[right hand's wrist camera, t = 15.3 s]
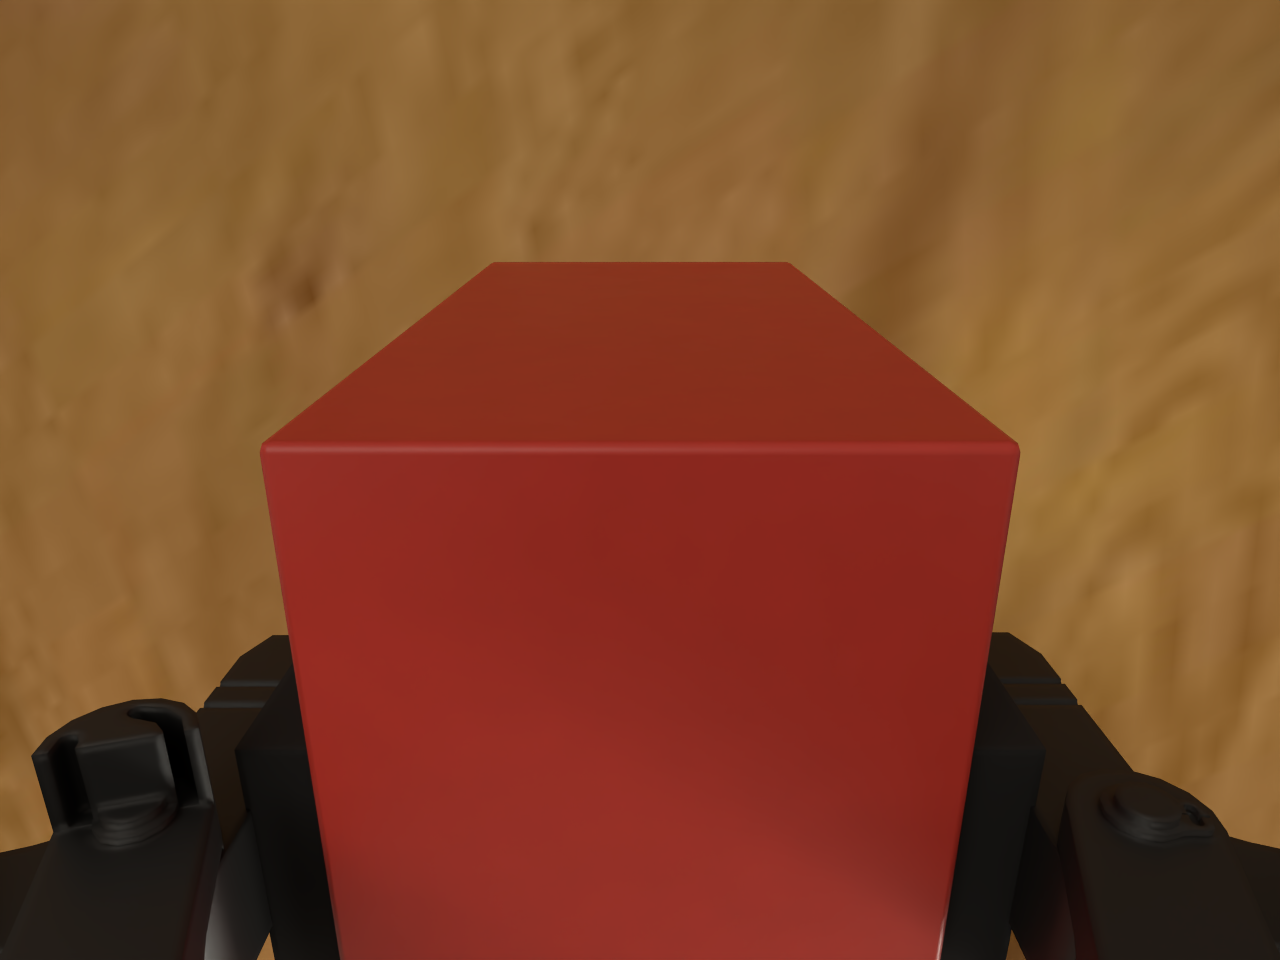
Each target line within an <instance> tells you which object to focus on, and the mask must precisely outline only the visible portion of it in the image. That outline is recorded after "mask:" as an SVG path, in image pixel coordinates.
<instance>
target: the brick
mask: <svg viewBox="0 0 1280 960" xmlns="http://www.w3.org/2000/svg"><path fill="white" fill-rule="evenodd" d="M260 457H261V463H262V470H263V476H264V482H265V489H266V495H267V501H268V508H269V514H270V520H271V526H272V533H273V539H274V545H275V552H276V558H277V564H278V571H279V577H280V583H281V590H282V596H283V602H284V608H285V615H286V621H287V627H288V634H289V640H290V646H291V653H292V659H293V665H294V671H295V678H296V684H297V690H298V697H299V703H300V709H301V716H302V722H303V728H304V734H305V741H306V747H307V753H308V760H309V766H310V772H311V779H312V785H313V791H314V797H315V804H316V810H317V816H318V823H319V829H320V835H321V842H322V848H323V854H324V861H325V867H326V873H327V879H328V886H329V892H330V898H331V905H332V911H333V917H334V924H335V930H336V936H337V942H338V949H339V955H340V960H940V958H941V952H942V945H943V939H944V933H945V926H946V920H947V914H948V908H949V901H950V895H951V889H952V882H953V876H954V870H955V863H956V857H957V851H958V844H959V838H960V832H961V825H962V819H963V813H964V806H965V800H966V794H967V787H968V781H969V775H970V768H971V762H972V756H973V749H974V743H975V737H976V730H977V724H978V718H979V711H980V705H981V699H982V692H983V686H984V680H985V673H986V667H987V661H988V655H989V648H990V642H991V636H992V629H993V623H994V617H995V610H996V604H997V598H998V591H999V585H1000V579H1001V572H1002V566H1003V560H1004V553H1005V547H1006V541H1007V534H1008V528H1009V522H1010V515H1011V509H1012V503H1013V496H1014V490H1015V484H1016V477H1017V471H1018V465H1019V458H1020V449H1019V446H1018V443H1017V442H1015V441H1014V440H1013V439H1012V438H1010V437H1009V436H1008V435H1006V434H1005V433H1004V432H1003V431H1001V430H1000V429H999V428H998V427H996V426H995V425H994V424H993V423H991V422H990V421H989V420H987V419H986V418H985V417H984V416H982V415H981V414H980V413H979V412H977V411H976V410H975V409H974V408H972V407H971V406H970V405H969V404H967V403H966V402H965V401H963V400H962V399H961V398H960V397H958V396H957V395H956V394H955V393H953V392H952V391H951V390H950V389H948V388H947V387H946V386H944V385H943V384H942V383H941V382H939V381H938V380H937V379H936V378H934V377H933V376H932V375H931V374H929V373H928V372H927V371H926V370H924V369H923V368H922V367H920V366H919V365H918V364H917V363H915V362H914V361H913V360H912V359H910V358H909V357H908V356H907V355H905V354H904V353H903V352H902V351H900V350H899V349H898V348H896V347H895V346H894V345H893V344H891V343H890V342H889V341H888V340H886V339H885V338H884V337H883V336H881V335H880V334H879V333H877V332H876V331H875V330H874V329H872V328H871V327H870V326H869V325H867V324H866V323H865V322H864V321H862V320H861V319H860V318H859V317H857V316H856V315H855V314H853V313H852V312H851V311H850V310H848V309H847V308H846V307H845V306H843V305H842V304H841V303H840V302H838V301H837V300H836V299H834V298H833V297H832V296H831V295H829V294H828V293H827V292H826V291H824V290H823V289H822V288H821V287H819V286H818V285H817V284H816V283H814V282H813V281H812V280H810V279H809V278H808V277H807V276H805V275H804V274H803V273H802V272H800V271H799V270H798V269H797V268H795V267H794V266H793V265H792V264H790V263H788V262H494V263H492V264H490V265H489V266H488V267H486V268H485V269H484V270H482V271H481V272H480V273H479V274H477V275H476V276H475V277H474V278H472V279H471V280H470V281H468V282H467V283H466V284H465V285H463V286H462V287H461V288H460V289H458V290H457V291H456V292H454V293H453V294H452V295H451V296H449V297H448V298H447V299H446V300H444V301H443V302H442V303H440V304H439V305H438V306H437V307H435V308H434V309H433V310H432V311H430V312H429V313H428V314H426V315H425V316H424V317H423V318H421V319H420V320H419V321H418V322H416V323H415V324H414V325H412V326H411V327H410V328H409V329H407V330H406V331H405V332H404V333H402V334H401V335H400V336H398V337H397V338H396V339H395V340H393V341H392V342H391V343H390V344H388V345H387V346H386V347H384V348H383V349H382V350H381V351H379V352H378V353H377V354H376V355H374V356H373V357H372V358H370V359H369V360H368V361H367V362H365V363H364V364H363V365H362V366H360V367H359V368H358V369H356V370H355V371H354V372H353V373H351V374H350V375H349V376H348V377H346V378H345V379H344V380H342V381H341V382H340V383H339V384H337V385H336V386H335V387H334V388H332V389H331V390H330V391H328V392H327V393H326V394H325V395H323V396H322V397H321V398H320V399H318V400H317V401H316V402H314V403H313V404H312V405H311V406H309V407H308V408H307V409H306V410H304V411H303V412H302V413H300V414H299V415H298V416H297V417H295V418H294V419H293V420H292V421H290V422H289V423H288V424H286V425H285V426H284V427H283V428H281V429H280V430H279V431H278V432H276V433H275V434H274V435H272V436H271V437H270V438H269V439H267V440H266V441H265V442H264V443H262V446H261V450H260Z"/></svg>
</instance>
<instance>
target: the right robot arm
mask: <svg viewBox="0 0 1280 960" xmlns="http://www.w3.org/2000/svg"><path fill="white" fill-rule="evenodd" d="M220 683H221V684H220V687H216V688H215V690H214V691H213V692H212V693H211V695H210V696H209V697H208V698H207V700H206V701H205V702H204V708H200V709H199V710H198V711H197V713H196V712H195V711H193V710H192V709H191V708H190V707H188V706H187V705H186V704H184V703H182V702H177V701H172V700H167V699H162V698H159V699H141V700H131V701H127V702H123V703H119V704H114V705H110V706H106V707H102V708H100V709H97V710H95V711H93V712H90V713H88V714H86V715H83V716H81V717H79V718H76V719H74V720H72V721H70V722H69V723H67V724H66V725H64V726H63V727H61V728H60V729H58V730H57V731H55V732H54V733H52V734H51V735H49V736H48V737H47V738H46V739H45V740H44V741H43V742H42V744H41V745H40V746H39V747H38V748H37V750H36V751H35V752H34V753H33V754H32V755H31V757H32V760H33V764H34V767H35V771H36V774H37V777H38V781H39V784H40V788H41V791H42V795H43V798H44V801H45V805H46V808H47V812H48V815H49V819H50V822H51V825H52V829H53V834H52V837H51V839H50V841H47V842H44V843H40V844H37V845H33V846H29V847H24V848H20V849H15V850H10V851H6V852H1V853H0V960H257V958H258V956H259V953H260V951H261V949H262V947H263V945H264V943H265V941H266V939H267V936H268V934H269V932H270V937H271V942H272V947H273V953H274V958H275V960H340V955H339V949H338V942H337V936H336V930H335V924H334V917H333V911H332V905H331V898H330V892H329V886H328V879H327V873H326V867H325V861H324V854H323V848H322V842H321V835H320V829H319V823H318V816H317V810H316V804H315V797H314V791H313V785H312V779H311V772H310V766H309V760H308V753H307V747H306V741H305V734H304V728H303V722H302V716H301V709H300V703H299V697H298V690H297V684H296V678H295V671H294V665H293V659H292V653H291V646H290V640H289V635H272V636H271V637H269V638H268V639H266V640H265V641H263V642H262V643H260V644H259V645H257V646H256V647H254V648H253V649H251V650H250V651H248V652H247V653H245V654H244V655H242V656H240V657H239V659H238V660H237V661H236V663H235V664H234V665H233V666H232V668H231V669H230V670H229V672H228V673H227V674H226V675H225V677H224V678H223V679H222V681H221V682H220ZM1011 930H1012V931H1013V933H1014V935H1015V937H1016V939H1017V941H1018V943H1019V945H1020V948H1021V950H1022V952H1023V954H1024V956H1025V958H1026V960H1280V849H1279V848H1274V847H1269V846H1265V845H1260V844H1255V843H1251V842H1247V841H1243V840H1240V839H1236V838H1233V837H1229V835H1228V833H1227V831H1226V829H1225V828H1224V827H1223V825H1222V824H1221V822H1220V821H1219V820H1218V818H1217V817H1216V815H1215V814H1214V813H1213V811H1212V810H1210V809H1209V808H1208V807H1207V806H1205V805H1204V804H1203V803H1201V802H1200V801H1199V800H1197V799H1196V798H1195V797H1194V796H1192V795H1191V794H1190V793H1188V792H1186V791H1184V790H1182V789H1180V788H1178V787H1176V786H1174V785H1172V784H1170V783H1168V782H1166V781H1164V780H1162V779H1159V778H1155V777H1152V776H1148V775H1145V774H1141V773H1137V772H1134V771H1133V770H1132V769H1131V768H1130V766H1129V765H1128V764H1127V762H1126V761H1125V760H1124V759H1123V757H1122V756H1121V755H1120V754H1119V752H1118V751H1117V750H1116V748H1115V747H1114V746H1113V745H1112V743H1111V742H1110V741H1109V740H1108V738H1107V737H1106V736H1105V734H1104V733H1103V732H1102V731H1101V729H1100V728H1099V727H1098V726H1097V724H1096V723H1095V722H1094V720H1093V719H1092V718H1091V717H1090V715H1089V714H1088V713H1087V712H1086V710H1085V709H1084V708H1083V706H1082V705H1078V704H1077V699H1076V698H1075V696H1074V695H1073V694H1072V692H1071V691H1070V690H1069V689H1068V687H1067V686H1066V685H1065V684H1061V678H1060V677H1059V676H1058V675H1057V673H1056V672H1055V671H1054V670H1053V668H1052V667H1051V666H1050V664H1049V663H1048V662H1047V661H1046V659H1045V658H1044V657H1043V656H1042V654H1041V653H1039V652H1038V651H1036V650H1034V649H1033V648H1031V647H1030V646H1028V645H1027V644H1025V643H1024V642H1022V641H1021V640H1019V639H1018V638H1016V637H1015V636H1013V635H1011V634H1010V633H1008V632H992V636H991V642H990V648H989V655H988V661H987V667H986V673H985V680H984V686H983V692H982V699H981V705H980V711H979V718H978V724H977V730H976V737H975V743H974V749H973V756H972V762H971V768H970V775H969V781H968V787H967V794H966V800H965V806H964V813H963V819H962V825H961V832H960V838H959V844H958V851H957V857H956V863H955V870H954V876H953V882H952V889H951V895H950V901H949V908H948V914H947V920H946V926H945V933H944V939H943V945H942V952H941V958H940V960H1006V956H1007V951H1008V946H1009V941H1010V935H1011Z"/></svg>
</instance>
